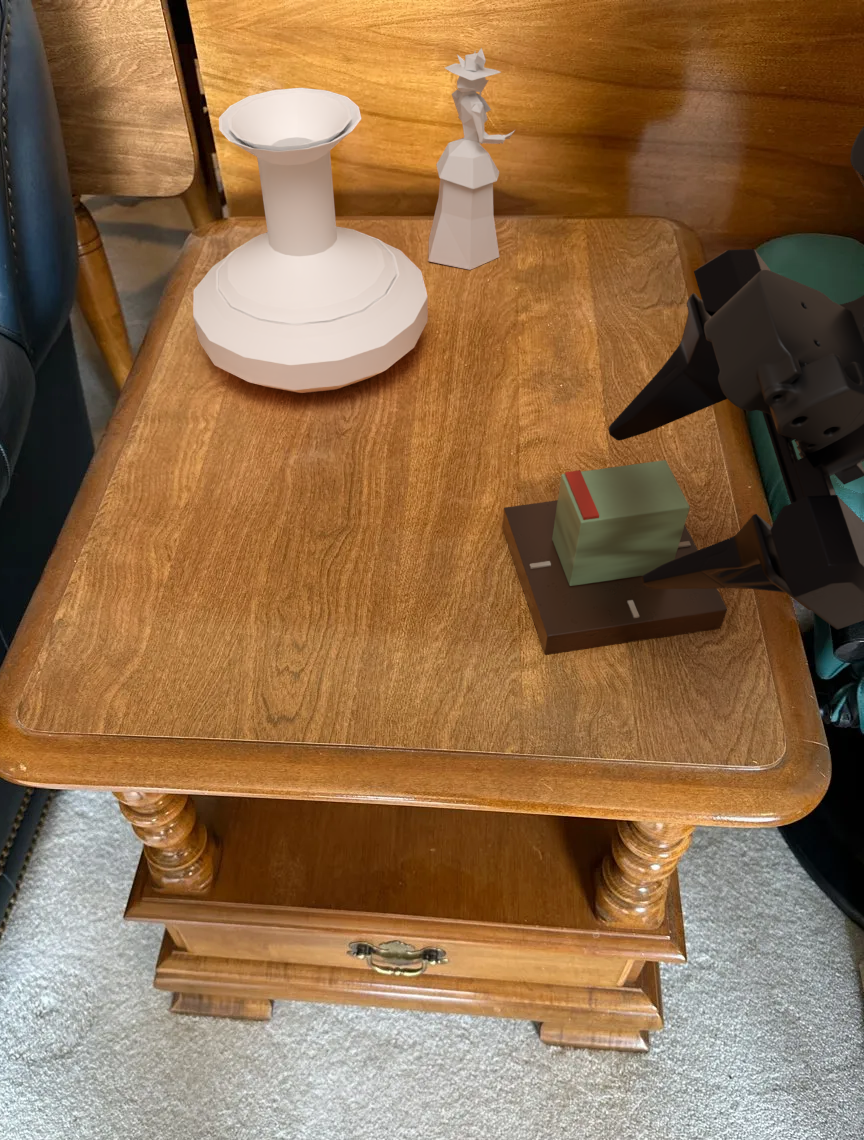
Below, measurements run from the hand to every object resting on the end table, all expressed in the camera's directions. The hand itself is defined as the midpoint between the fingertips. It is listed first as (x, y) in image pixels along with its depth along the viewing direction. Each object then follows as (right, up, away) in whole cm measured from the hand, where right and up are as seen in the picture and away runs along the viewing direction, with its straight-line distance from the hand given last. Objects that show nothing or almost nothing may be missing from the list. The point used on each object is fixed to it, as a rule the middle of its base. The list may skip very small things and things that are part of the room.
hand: (628, 506), depth 50 cm
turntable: (+3, -3, +17) cm, 17 cm away
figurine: (-5, +31, +44) cm, 54 cm away
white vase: (-19, +19, +35) cm, 44 cm away
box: (+3, -1, +15) cm, 15 cm away
